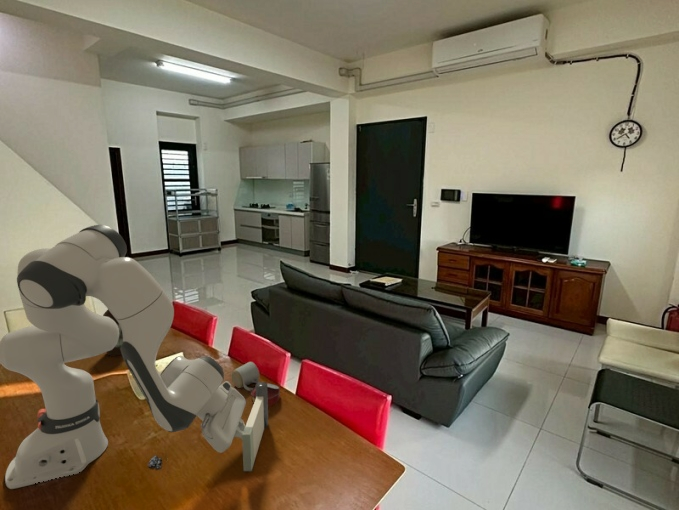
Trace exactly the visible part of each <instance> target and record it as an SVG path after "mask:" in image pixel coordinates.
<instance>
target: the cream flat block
mask: <svg viewBox="0 0 679 510" xmlns="http://www.w3.org/2000/svg"><path fill="white" fill-rule="evenodd" d="M264 431H265V428H264V406H263V397H256V400H255V402H254V404H253V405H252V408H251V411H250V413H249V416H248V419H247V421H246V424H245V428H244V431H243V434H242V439H241V442H242V461H243V472H253V469H254V468H253V467H254V465H255V460H256V457H257V454H258V450H259V447H260V444H261V440H262V437H263V433H264Z"/></svg>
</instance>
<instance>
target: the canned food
mask: <svg viewBox="0 0 679 510" xmlns="http://www.w3.org/2000/svg"><path fill="white" fill-rule="evenodd" d="M251 382H253V384H254V383H255V384H257V383H258V382H257V381H253V380H252V381H251ZM253 388H254V389H253V390H252V391H250V395H251V403H252V402H253V403H254V402H255V400H256V388H255V387H253ZM267 394H268V407H270V406H273V405H275V404H276V403H278V402H279V400H280V387H279V386H278V385H275V384H273V383H267ZM253 403H252V404H253ZM274 403H275V404H274Z"/></svg>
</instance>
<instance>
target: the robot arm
mask: <svg viewBox="0 0 679 510" xmlns="http://www.w3.org/2000/svg"><path fill="white" fill-rule="evenodd" d="M127 252H128V249H127V244H126V241H125V240H124V238H123V236H122V235H121V234H120V233H119V232H118V231H116V230H115V229H113V228H112V227H110V226H109V225H108V226H107V225H104V224H95V225H90V226H88V227H86V228H83V229H81V230H80V231H78V232H77V233H76V234H73V235H71V236H69V237H66V238H65V239H62V240H61V241H59V242H58V243H56V244H55V245H54V246H53V247H52V248H38V249H34V250H31V251H29V252H28V253H26V254H24V255H23V256H22V258H21V259H20V260H19V262H18V266H17V272H16V273H17V276H16V283H17V289H18V292H19V296H20V299H21V303H22V305H23V306H22V307H23V308H24V309H23V310H24V313H25V316H26V319H27V320H28V322H29V323H30V324H31V325H30V326H29V325H28V326H26V327H22V328H19V329H17V330H13V331H10V332H7V333H5V334H4V336H3V337H2V338H1V339H0V364H1V366H2V367H3V368H5V369H6V370H8V371H11V372H15V373H18V374H21V375H23V376H25V377H26V378H29V379H30V380H31V381H32V382H33V383H34V384H35V385H36V386H37V387H38V388H39V390H40V393H41V395H42V398H43V403H44V407H45V408H41V409H39V410H38V411H37V415H36V418H37V426H38V427H37V428H36V429H35V430H34V431H33V432H31V433H30V434H29V435H27V436H26V437H25V438H24V439H23V440H22V442H21V443H20V445H19V446H18V449H17V452H16V455H15V457H14V458H13V459H12V460H11V461H10V462H9V465H8V466H7V468H6V471H5V475H4V476H5V477H4V481H5V486H6V487H7V488H8V489H10V490H14V489H19V488H22V487H27V486H31V485H35V483H36V484H39V483H38V482H40V483H44V482H49V481H51V479H53V480H56V479H55V478H57V479H60V478H59V477H61V478H64V477H63V476H65V477H69V475H70V476H74V475H77V474H80V473H81V472H83V470H85V468H86V467H88V465H89V464H90V463H92V462H93V461H95V460H97V459H98V458H99V457H100V456H101V455H102V454H103V453H104V452H105V451H106V449H107V447H108V445H109V440H108V438H107V437H106V435H105V433H104V430H103V428H102V424H101V420H100V419H101V418H100V417H101V411H100V404H99V402H98V398H97V397H96V393H95V383H94V378H93V376H92V374H90V373H89V372H88V371H85V370H84V369H81V368H80V369H79V368H74V367H70V366H68V365H66V364H65V363H70V362H75V361H79V360H84V359H89V358H93V357H96V356H99V355H103V354H105V353H107V351H110V350H112V349H113V348H114V347H115V346H116V344H117V342H118V339H119V328H118V326H117V324H116V323H115V321H114V320H112V319H111V318H110V317H107V316H103V314H102V315H101V314H98V313H96V312H94V311H91V310H90V309H89V308H88V307H86V305H85V303H86V299H87V297H91V298H92V297H93V298H95V299H97V300H99V301H100V302H101V303H102V304H103V305H104V306H105V308H107V310H109V311H110V312H111V314H112V315H113V316H114V317H115V319H116V320H117V321H118V323H119V324H120V327H121V330H122V334H123V343H122V346H121V348H120V350H121V354H122V355H121V356H122V358H123V359H122V360H124V363H125V364H126V367H127V369H128V370H129V372H130V374H131V375H132V378H133V379H134V381H135V383H136V384H137V386H138V388H139V390H140V391H141V392H140V393H141V394H142V395H143V396H144V399H145V400H146V402H147V405H148V407H149V410H150V413H151V415H152V417H153V418H154V420H155V422H156V423H157V425H158V426H159V427H161V428H162V429H163V430H165V431H167V432H169V433H177V432H180V431H184V430H187V429H189V428H190V426H191V424H192V423H193V422H194V420H195V419H196V418H197V417H198V418H199V419H200V420H201V421H202V422H201V424H200V429H201V433H202V436H203V438H204V439H205V440H206V441H207V443H208V444H209V445H210V446H211V447H212V448H213V450H215V451H216V453H225V451H227V449H229V448H230V447H231V445H232V442H233V439H234V438H238V439H241V440H242V434H243V431H244V428H245V426H246V424H245V422H244V419H243V418H242V415H243V412H244V410H245V408H246V404H247V401H246V398H245V397H244V396H243V395H242V394H241V393H240V392H239V390H237V389H236V388H235V387H232V384H231V383H230V381H228V380H226V381H224V379H225V375H224V369H223V367H222V366H221V364H220V363H218V361H217V360H215V359H214V358H212V357H211V356H199V357H196V359H188V358H186V357H185V356H183V355H179V356H176V357H175V358H173V359H172V360H171V361H170V362H169V363H168V364H167V365H166V366H165V367H164V368H163V370H162V371H161V372H160V373H159V371H158V370H157V366H156V359H157V355H158V352H159V350H160V347H161V345H162V343H163V342H164V340H165V337H166V336H167V334H168V333H169V331H170V330H171V327H172V324H173V321H174V317H175V307H174V305H173V302H172V301H171V299H170V297H169V295H168V294H167V293H166V291H165V290H164V288H163V287H162V286H161V285H160V283H159V282H158V281H157V280H156V279H155V277H154V276H153V275H152V274H151V273H150V272H149V271H148V270H147V269H146V268H145V267H144V266H142V264H141V263H139V262H138V261H137V260H135V259H134V258H132V257H129V256H126V254H127ZM223 381H224V382H223ZM79 472H80V473H79ZM73 474H74V475H73ZM48 480H49V481H48ZM43 481H44V482H43Z"/></svg>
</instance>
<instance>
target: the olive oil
mask: <svg viewBox="0 0 679 510" xmlns="http://www.w3.org/2000/svg"><path fill="white" fill-rule="evenodd" d="M102 316H107V317H110V318H111V319H112V320H114V321H115V323H116V324H117V326H118V328H119V339H118V342H117V344H116V346H115V347H114V348H113V349H112V350H110V351H107V352H106V355H107V356H109V355H110V356H109V357H118V355H119V356H122V354H121V350H120V348H121V346H122V343H123V334H122V330H121V327H120V324H119V323H118V321H117V320H116V319H115V317H114V316H113V315H112V314H111V312H110V311H109V310H108V309H107V310H106V311H105V312H104V313H103V314H102Z"/></svg>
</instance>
